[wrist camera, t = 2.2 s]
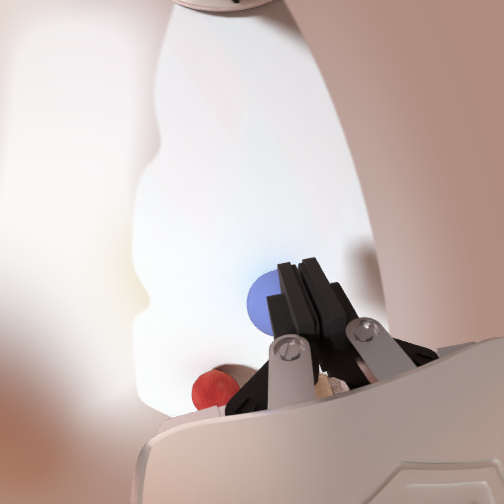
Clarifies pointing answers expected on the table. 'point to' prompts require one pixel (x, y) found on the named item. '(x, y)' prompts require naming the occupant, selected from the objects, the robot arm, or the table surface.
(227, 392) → the onion
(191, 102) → the table surface
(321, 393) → the side pin
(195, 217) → the table surface
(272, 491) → the robot arm
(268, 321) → the ball
